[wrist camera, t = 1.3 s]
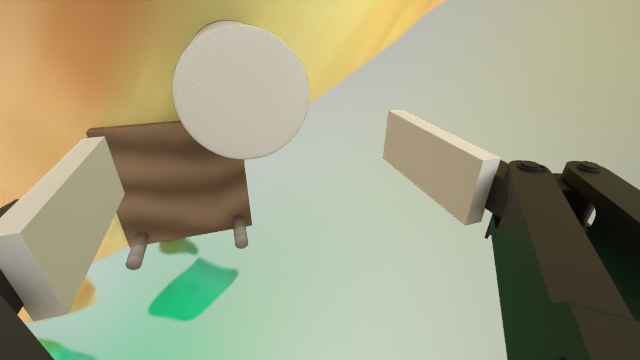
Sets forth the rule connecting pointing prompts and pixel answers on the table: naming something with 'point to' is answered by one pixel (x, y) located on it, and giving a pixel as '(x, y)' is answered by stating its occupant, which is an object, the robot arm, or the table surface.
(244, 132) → the container
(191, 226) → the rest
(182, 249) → the table surface
